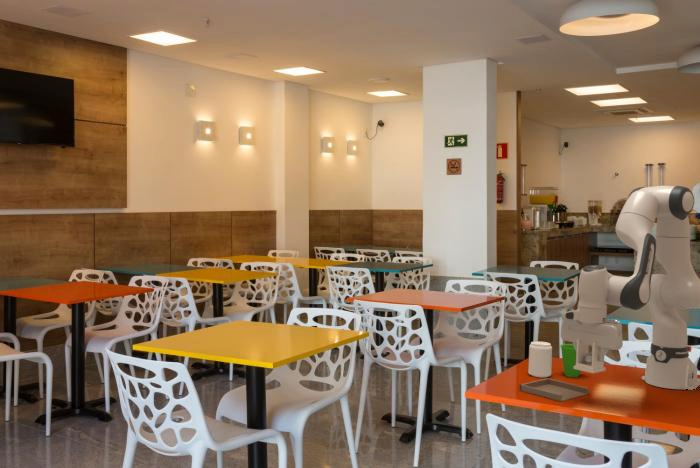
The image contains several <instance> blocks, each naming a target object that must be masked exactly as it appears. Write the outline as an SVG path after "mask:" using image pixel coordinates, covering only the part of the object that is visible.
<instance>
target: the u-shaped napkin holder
mask: <svg viewBox="0 0 700 468" xmlns="http://www.w3.org/2000/svg"><path fill="white" fill-rule="evenodd" d="M589 346H590V345H585V344H581V339H577V354H576V365H575V366H574V369H577V370H580V372H581V371H582V372H586V373H591V374H596V373H600V372H601V373H602V372H606V367H605V366H604V362H605V361H604V362H600V361H597V359H598V358H597V356H598V355H600V354H601V353H602V351H601V347H596V342H593V345H592V346H591V347H592V348H591V349H592V351H591V353H592V366H590V365H586V364H585V362H584V356H585V355H586V354H587V353H589Z"/></svg>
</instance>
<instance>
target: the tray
mask: <svg viewBox="0 0 700 468" xmlns="http://www.w3.org/2000/svg"><path fill="white" fill-rule="evenodd" d="M518 386H519V387H518V388H519V390H520V391H519V390H518V391H519V392H523V393H524V392H525V393H527V394H530V395H535V396H538V397H542V398H546V399H549V400H553V401H556V402H564V401H565V402H566V401H568V400H571V399H575V398H578V397H579V398H580V397H583V396H586V395H589V393H590V392H589V391H590V390H589V388H588V387H585V386H581V385H577V384H573V383H570V382H566V381H561V380H557V379H552V378H548V377H545V378H542V379H539V380H533V381H531V382H530V381H529V382H526V383H521V384H518Z"/></svg>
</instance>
